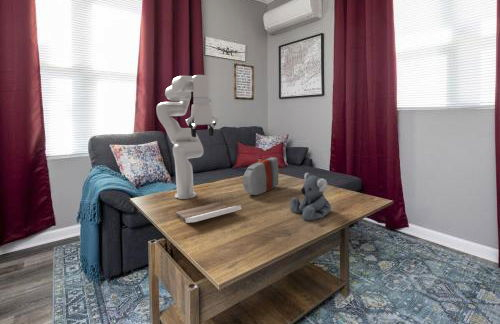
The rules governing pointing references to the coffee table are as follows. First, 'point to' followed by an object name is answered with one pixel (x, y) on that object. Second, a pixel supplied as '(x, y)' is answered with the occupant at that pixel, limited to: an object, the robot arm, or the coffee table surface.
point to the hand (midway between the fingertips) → (202, 136)
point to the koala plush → (312, 199)
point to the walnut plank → (200, 210)
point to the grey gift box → (261, 176)
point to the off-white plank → (212, 214)
